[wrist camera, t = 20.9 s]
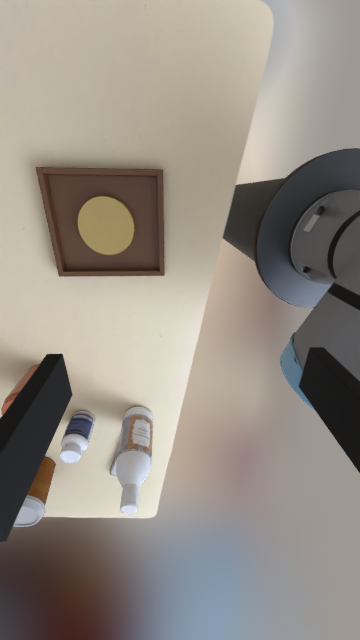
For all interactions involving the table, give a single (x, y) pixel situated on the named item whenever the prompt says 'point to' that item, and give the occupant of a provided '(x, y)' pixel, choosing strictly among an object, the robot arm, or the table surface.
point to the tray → (123, 184)
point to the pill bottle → (76, 436)
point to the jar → (18, 388)
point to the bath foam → (134, 455)
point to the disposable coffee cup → (36, 495)
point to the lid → (106, 225)
